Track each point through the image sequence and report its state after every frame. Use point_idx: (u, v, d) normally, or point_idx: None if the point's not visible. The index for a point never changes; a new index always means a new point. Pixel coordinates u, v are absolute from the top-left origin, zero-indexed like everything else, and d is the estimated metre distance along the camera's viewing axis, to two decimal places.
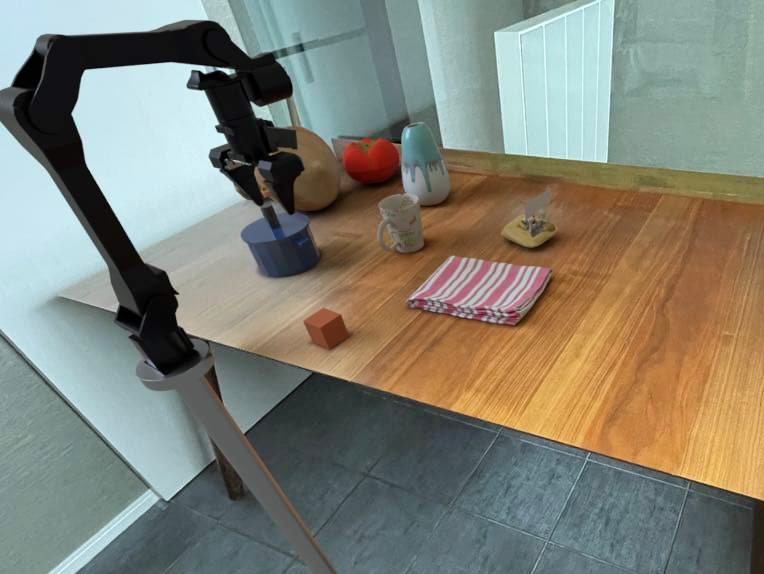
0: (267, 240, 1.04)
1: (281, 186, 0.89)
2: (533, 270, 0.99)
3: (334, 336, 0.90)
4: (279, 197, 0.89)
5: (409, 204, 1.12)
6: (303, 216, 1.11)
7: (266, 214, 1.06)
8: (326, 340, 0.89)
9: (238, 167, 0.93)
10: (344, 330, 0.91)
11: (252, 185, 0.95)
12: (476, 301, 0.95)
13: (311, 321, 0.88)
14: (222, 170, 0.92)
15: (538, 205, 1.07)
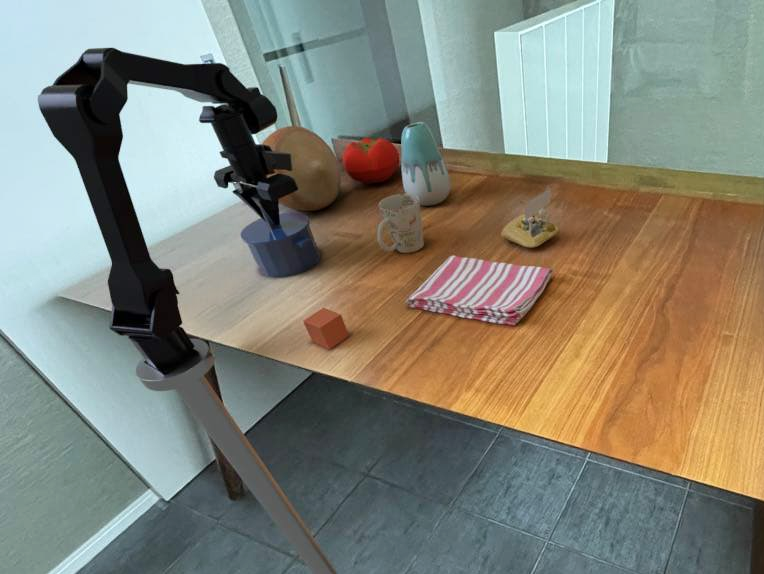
0: (267, 240, 1.04)
1: (267, 201, 1.03)
2: (533, 270, 0.99)
3: (334, 336, 0.90)
4: (265, 210, 1.03)
5: (409, 204, 1.12)
6: (303, 216, 1.11)
7: None
8: (326, 340, 0.89)
9: (249, 189, 1.04)
10: (344, 330, 0.91)
11: None
12: (476, 301, 0.95)
13: (311, 321, 0.88)
14: (235, 191, 1.03)
15: (538, 205, 1.07)
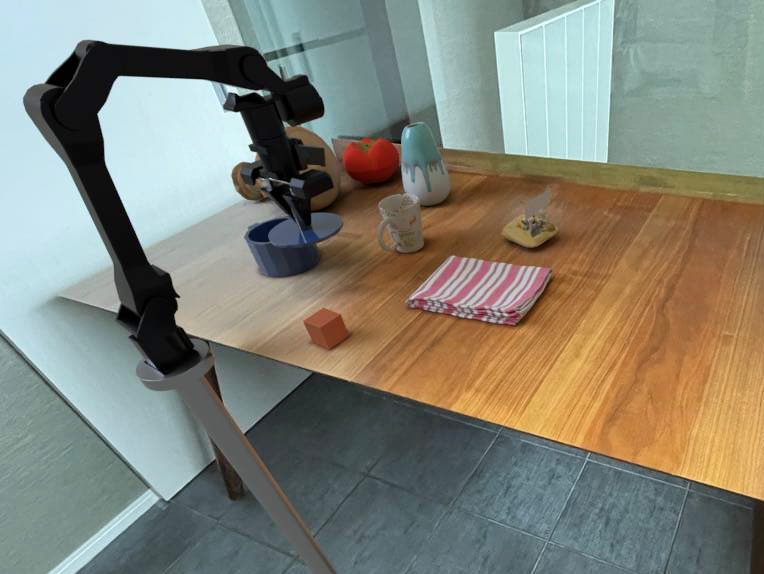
0: (299, 242, 0.94)
1: (299, 199, 0.93)
2: (533, 270, 0.99)
3: (334, 336, 0.90)
4: (297, 210, 0.94)
5: (409, 204, 1.12)
6: (336, 216, 1.02)
7: None
8: (326, 340, 0.89)
9: (279, 186, 0.94)
10: (344, 330, 0.91)
11: None
12: (476, 301, 0.95)
13: (311, 321, 0.88)
14: (263, 189, 0.94)
15: (538, 205, 1.07)
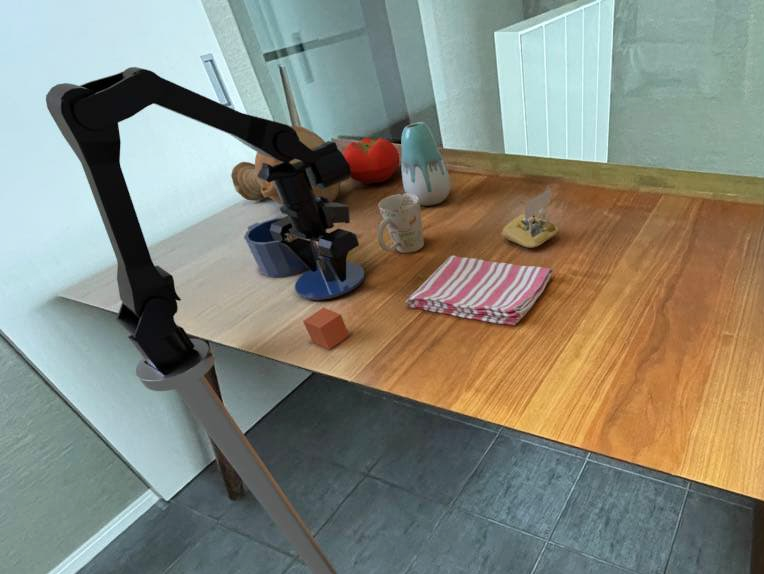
0: (324, 295, 1.01)
1: (336, 258, 0.98)
2: (533, 270, 0.99)
3: (334, 336, 0.90)
4: (334, 268, 0.99)
5: (409, 204, 1.12)
6: (357, 266, 1.08)
7: (322, 267, 1.02)
8: (326, 340, 0.89)
9: (296, 239, 1.02)
10: (344, 330, 0.91)
11: (308, 254, 1.04)
12: (476, 301, 0.95)
13: (311, 321, 0.88)
14: (282, 242, 1.01)
15: (538, 205, 1.07)
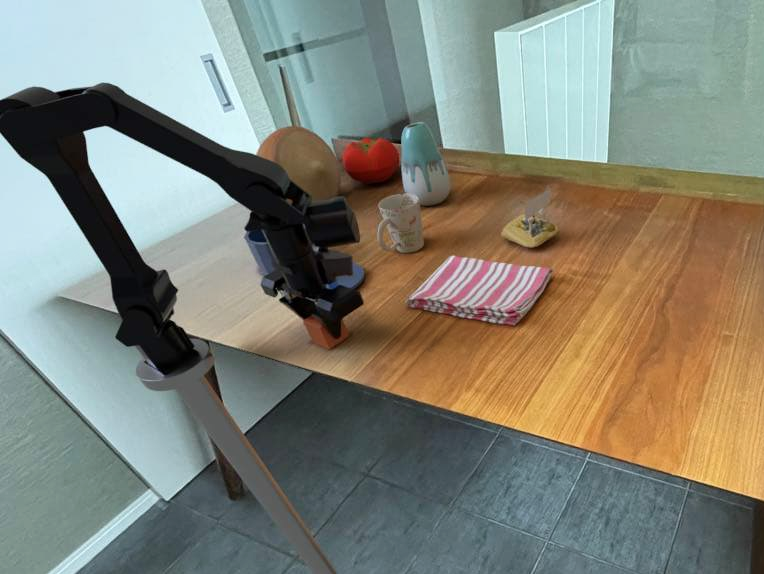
0: None
1: None
2: (533, 270, 0.99)
3: None
4: (327, 326, 0.86)
5: (409, 204, 1.12)
6: (357, 266, 1.08)
7: None
8: (326, 340, 0.89)
9: (299, 296, 0.87)
10: (344, 330, 0.91)
11: (312, 312, 0.90)
12: (476, 301, 0.95)
13: (311, 321, 0.88)
14: (282, 300, 0.87)
15: (538, 205, 1.07)
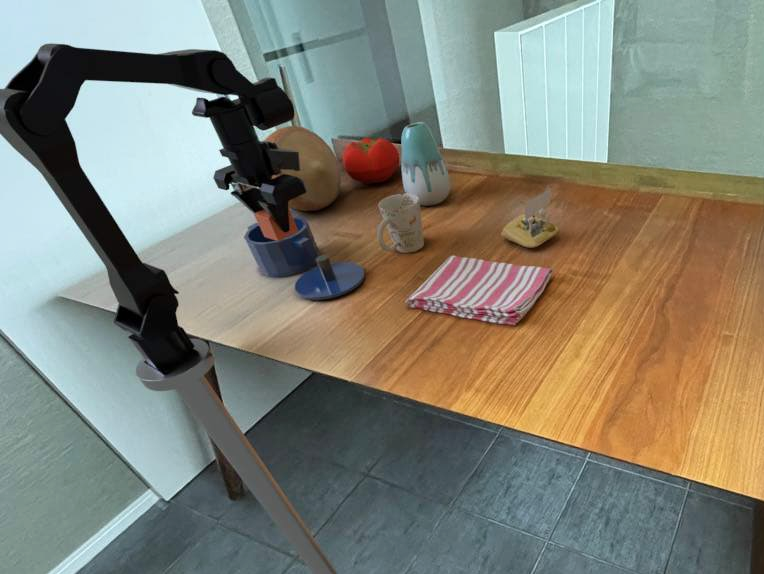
0: (324, 295, 1.01)
1: (276, 205, 0.92)
2: (533, 270, 0.99)
3: None
4: (274, 216, 0.92)
5: (409, 204, 1.12)
6: (357, 266, 1.08)
7: (322, 267, 1.02)
8: (275, 232, 0.95)
9: (249, 190, 0.94)
10: (293, 225, 0.97)
11: (263, 207, 0.96)
12: (476, 301, 0.95)
13: (261, 213, 0.95)
14: (233, 193, 0.94)
15: (538, 205, 1.07)
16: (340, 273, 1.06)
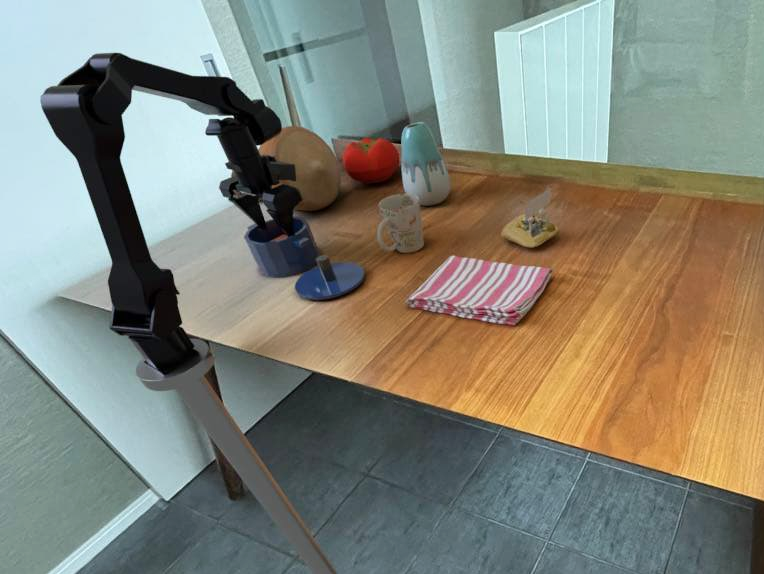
0: (324, 295, 1.01)
1: (282, 214, 1.03)
2: (533, 270, 0.99)
3: None
4: (280, 223, 1.03)
5: (409, 204, 1.12)
6: (357, 266, 1.08)
7: (322, 267, 1.02)
8: None
9: (244, 196, 1.07)
10: None
11: (256, 211, 1.09)
12: (476, 301, 0.95)
13: None
14: (231, 199, 1.06)
15: (538, 205, 1.07)
16: (340, 273, 1.06)
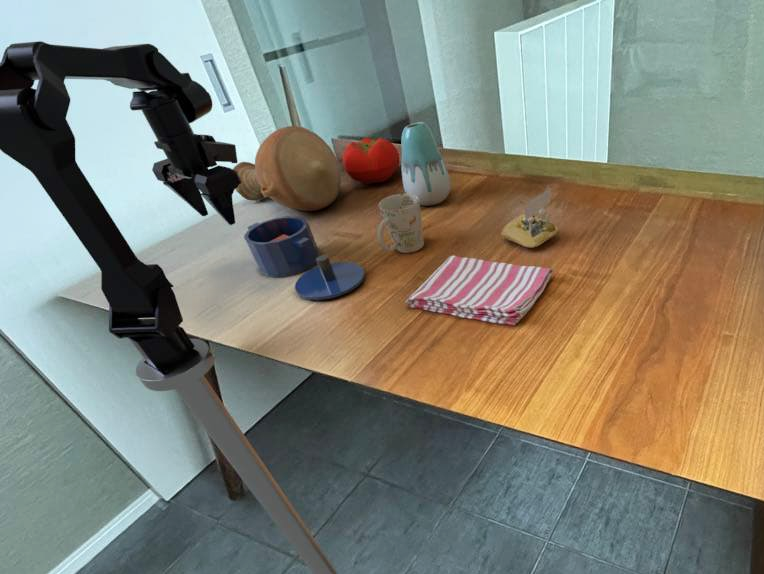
0: (324, 295, 1.01)
1: (219, 198, 0.94)
2: (533, 270, 0.99)
3: None
4: (217, 208, 0.95)
5: (409, 204, 1.12)
6: (357, 266, 1.08)
7: (322, 267, 1.02)
8: None
9: (181, 180, 0.98)
10: None
11: (195, 196, 1.00)
12: (476, 301, 0.95)
13: None
14: (165, 182, 0.98)
15: (538, 205, 1.07)
16: (340, 273, 1.06)
